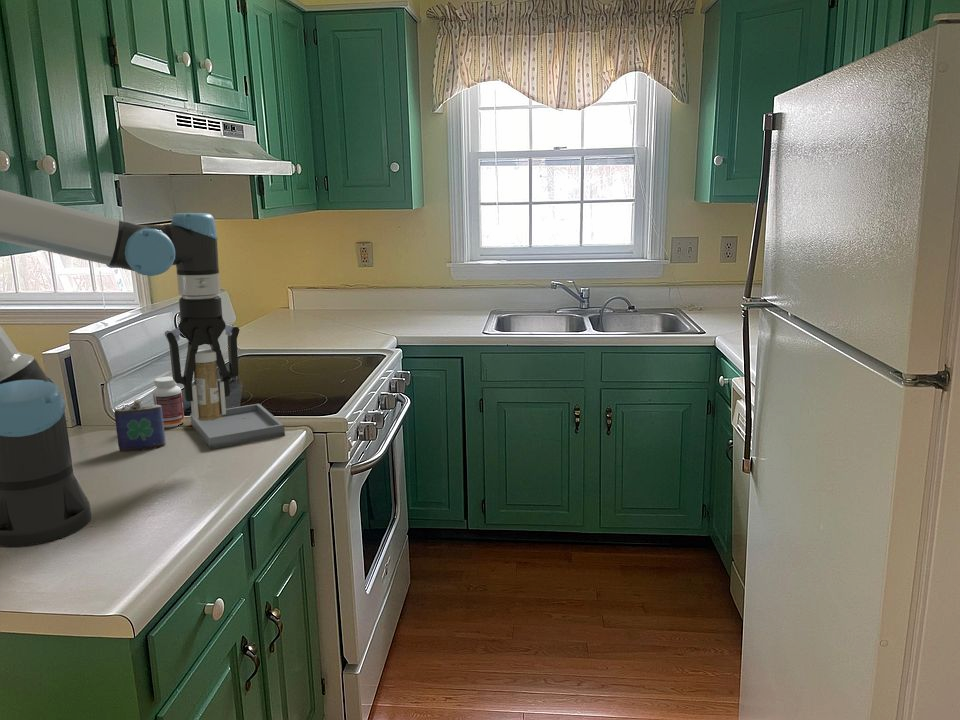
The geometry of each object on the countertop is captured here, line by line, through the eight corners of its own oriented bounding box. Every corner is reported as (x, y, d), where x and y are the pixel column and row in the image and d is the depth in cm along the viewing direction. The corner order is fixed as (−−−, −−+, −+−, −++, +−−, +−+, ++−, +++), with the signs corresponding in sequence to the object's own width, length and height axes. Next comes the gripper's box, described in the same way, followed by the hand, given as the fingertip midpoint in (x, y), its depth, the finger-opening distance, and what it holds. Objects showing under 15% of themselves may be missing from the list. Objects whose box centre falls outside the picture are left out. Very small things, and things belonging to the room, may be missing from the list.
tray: (210, 449, 160) (209, 438, 159) (191, 424, 177) (190, 414, 176) (285, 435, 168) (284, 424, 167) (259, 413, 185) (259, 403, 184)
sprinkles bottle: (224, 419, 148) (219, 351, 145) (199, 422, 145) (194, 354, 143) (217, 413, 152) (213, 347, 149) (194, 416, 149) (188, 350, 146)
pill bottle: (190, 422, 178) (185, 377, 175) (167, 430, 173) (162, 383, 170) (173, 418, 181) (168, 374, 179) (150, 425, 176) (145, 380, 174)
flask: (166, 443, 164) (160, 395, 162) (166, 447, 162) (160, 399, 159) (119, 449, 161) (113, 400, 158) (118, 453, 158) (111, 404, 156)
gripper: (153, 301, 136) (164, 426, 141) (251, 295, 145) (259, 412, 150) (147, 296, 142) (158, 416, 147) (241, 290, 151) (249, 403, 156)
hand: (209, 414), depth 148 cm, fingers closed on sprinkles bottle, 4 cm apart
